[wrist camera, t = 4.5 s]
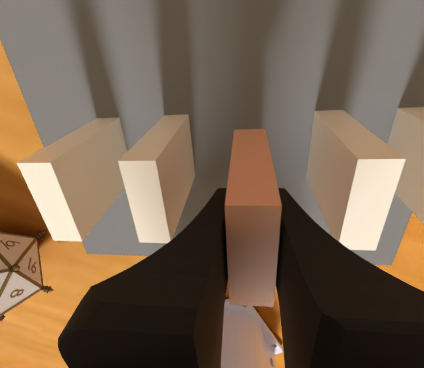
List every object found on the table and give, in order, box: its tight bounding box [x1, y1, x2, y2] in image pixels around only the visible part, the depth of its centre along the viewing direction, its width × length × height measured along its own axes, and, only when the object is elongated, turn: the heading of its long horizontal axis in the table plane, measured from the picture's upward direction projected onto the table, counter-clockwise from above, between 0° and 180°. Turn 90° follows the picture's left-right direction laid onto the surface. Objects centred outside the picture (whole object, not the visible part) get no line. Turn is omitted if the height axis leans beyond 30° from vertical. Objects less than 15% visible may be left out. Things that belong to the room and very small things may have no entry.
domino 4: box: [306, 110, 406, 251], centre depth 13 cm, size 2×4×7 cm, turn 4°
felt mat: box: [0, 0, 424, 265], centre depth 17 cm, size 26×22×1 cm
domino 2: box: [118, 114, 195, 243], centre depth 15 cm, size 2×4×7 cm, turn 4°
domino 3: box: [225, 129, 282, 307], centre depth 11 cm, size 2×4×7 cm, turn 4°
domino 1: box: [17, 118, 128, 241], centre depth 15 cm, size 2×4×7 cm, turn 4°
